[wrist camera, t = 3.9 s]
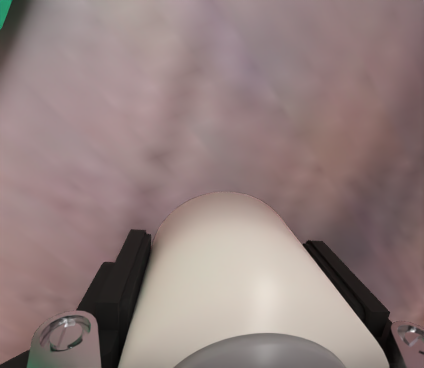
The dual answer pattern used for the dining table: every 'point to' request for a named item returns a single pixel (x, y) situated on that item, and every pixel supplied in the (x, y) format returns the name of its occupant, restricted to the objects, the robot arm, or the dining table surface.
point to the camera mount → (4, 10)
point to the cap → (240, 296)
